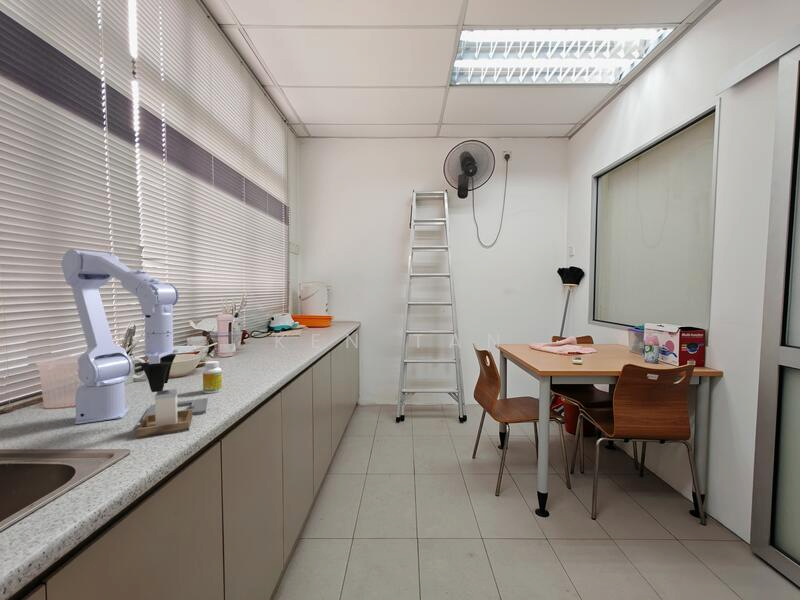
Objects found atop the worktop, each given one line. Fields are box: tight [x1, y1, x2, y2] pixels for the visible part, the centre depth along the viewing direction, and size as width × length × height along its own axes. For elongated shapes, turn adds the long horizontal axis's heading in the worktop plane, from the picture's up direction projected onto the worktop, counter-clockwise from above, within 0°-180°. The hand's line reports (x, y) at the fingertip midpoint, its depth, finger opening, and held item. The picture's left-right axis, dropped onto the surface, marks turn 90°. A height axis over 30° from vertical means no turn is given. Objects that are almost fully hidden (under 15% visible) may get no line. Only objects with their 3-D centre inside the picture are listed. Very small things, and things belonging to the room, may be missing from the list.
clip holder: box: [141, 397, 209, 421], centre depth 95 cm, size 14×12×2 cm
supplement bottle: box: [202, 360, 223, 394], centre depth 113 cm, size 5×5×10 cm
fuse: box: [154, 388, 178, 426], centre depth 83 cm, size 4×4×8 cm
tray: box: [136, 408, 193, 439], centre depth 83 cm, size 10×10×2 cm
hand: (159, 387), depth 85 cm, fingers open, 7 cm apart
